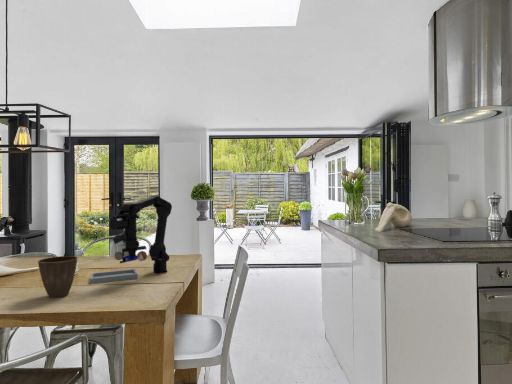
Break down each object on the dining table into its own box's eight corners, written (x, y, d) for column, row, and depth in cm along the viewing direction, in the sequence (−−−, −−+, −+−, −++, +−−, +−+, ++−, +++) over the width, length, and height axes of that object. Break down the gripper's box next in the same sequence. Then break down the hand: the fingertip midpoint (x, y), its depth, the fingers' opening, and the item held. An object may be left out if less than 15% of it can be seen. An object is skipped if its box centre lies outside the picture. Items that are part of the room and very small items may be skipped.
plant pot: (41, 293, 151) (41, 257, 151) (79, 288, 157) (78, 254, 157) (35, 303, 137) (34, 264, 137) (76, 297, 143) (76, 260, 143)
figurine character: (116, 267, 164) (148, 260, 170) (114, 252, 163) (146, 246, 170) (115, 264, 170) (146, 258, 176) (113, 250, 169) (144, 244, 176)
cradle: (135, 273, 186) (135, 268, 186) (137, 278, 174) (137, 273, 174) (91, 277, 177) (91, 273, 177) (90, 283, 165) (90, 279, 165)
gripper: (112, 227, 175) (112, 257, 175) (114, 230, 158) (114, 264, 158) (134, 225, 179) (135, 255, 179) (139, 229, 163) (139, 261, 163)
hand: (131, 258), depth 170 cm, fingers closed on figurine character, 7 cm apart
